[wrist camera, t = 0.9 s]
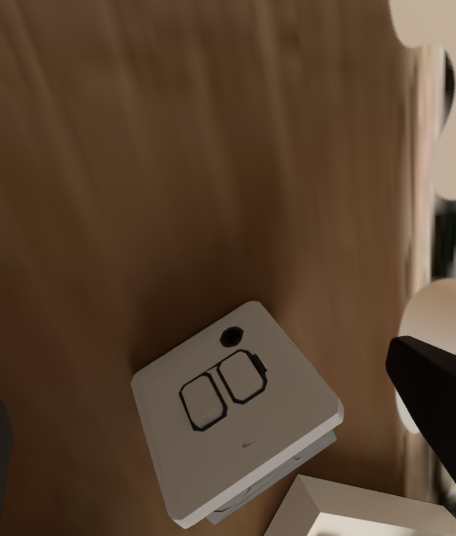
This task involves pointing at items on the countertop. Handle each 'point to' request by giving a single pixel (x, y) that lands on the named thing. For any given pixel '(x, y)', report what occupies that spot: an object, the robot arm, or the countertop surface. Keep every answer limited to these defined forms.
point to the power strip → (355, 512)
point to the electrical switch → (231, 414)
